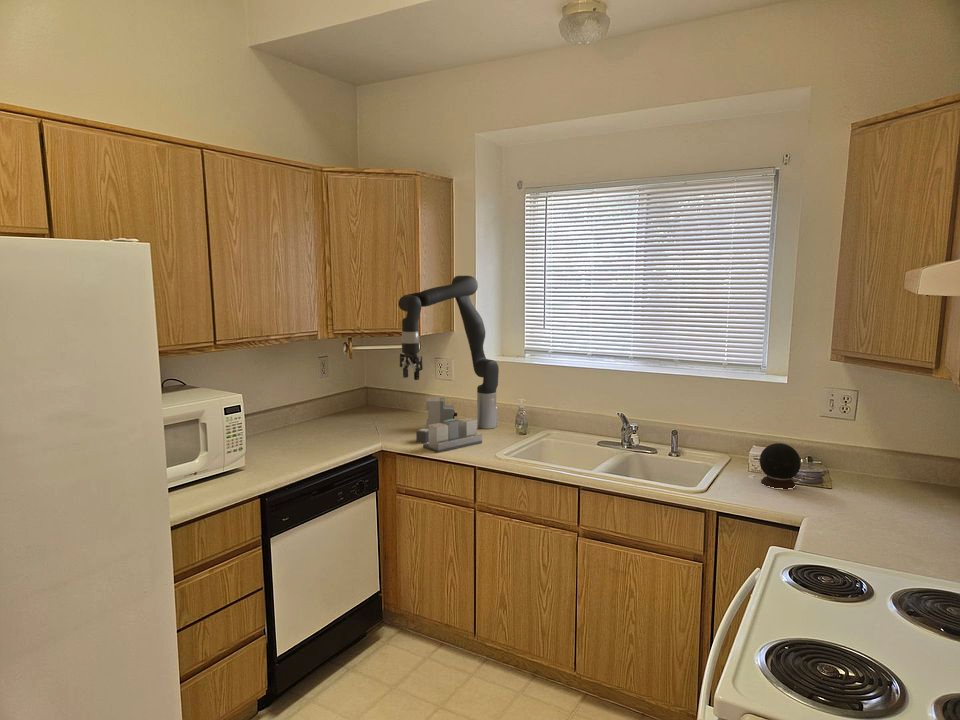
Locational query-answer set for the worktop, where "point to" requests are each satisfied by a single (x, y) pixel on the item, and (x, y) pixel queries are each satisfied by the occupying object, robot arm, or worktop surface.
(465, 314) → the robot arm
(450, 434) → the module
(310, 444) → the worktop surface
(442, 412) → the circuit breaker
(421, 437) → the block
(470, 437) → the grey slotted holder
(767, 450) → the black ball on stand
